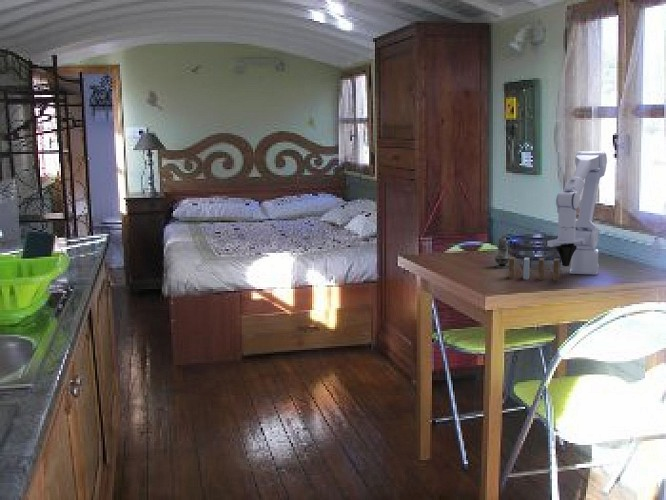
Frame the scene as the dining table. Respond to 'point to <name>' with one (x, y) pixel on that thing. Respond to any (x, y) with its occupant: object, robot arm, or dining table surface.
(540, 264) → the domino
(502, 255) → the salt shaker
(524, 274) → the domino
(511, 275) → the domino
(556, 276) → the domino
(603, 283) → the dining table surface
